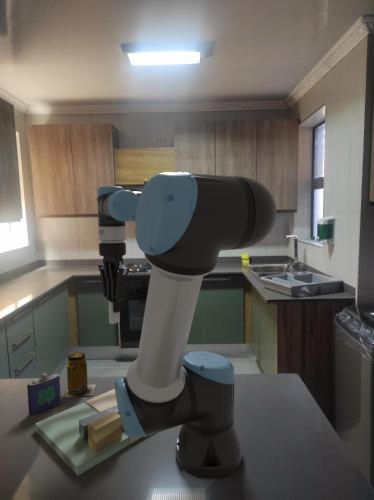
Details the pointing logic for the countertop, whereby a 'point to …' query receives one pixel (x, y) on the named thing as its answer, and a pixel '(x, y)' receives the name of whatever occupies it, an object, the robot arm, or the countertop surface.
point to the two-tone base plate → (99, 433)
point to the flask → (44, 394)
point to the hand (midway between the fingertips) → (114, 322)
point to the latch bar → (84, 422)
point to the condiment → (78, 376)
